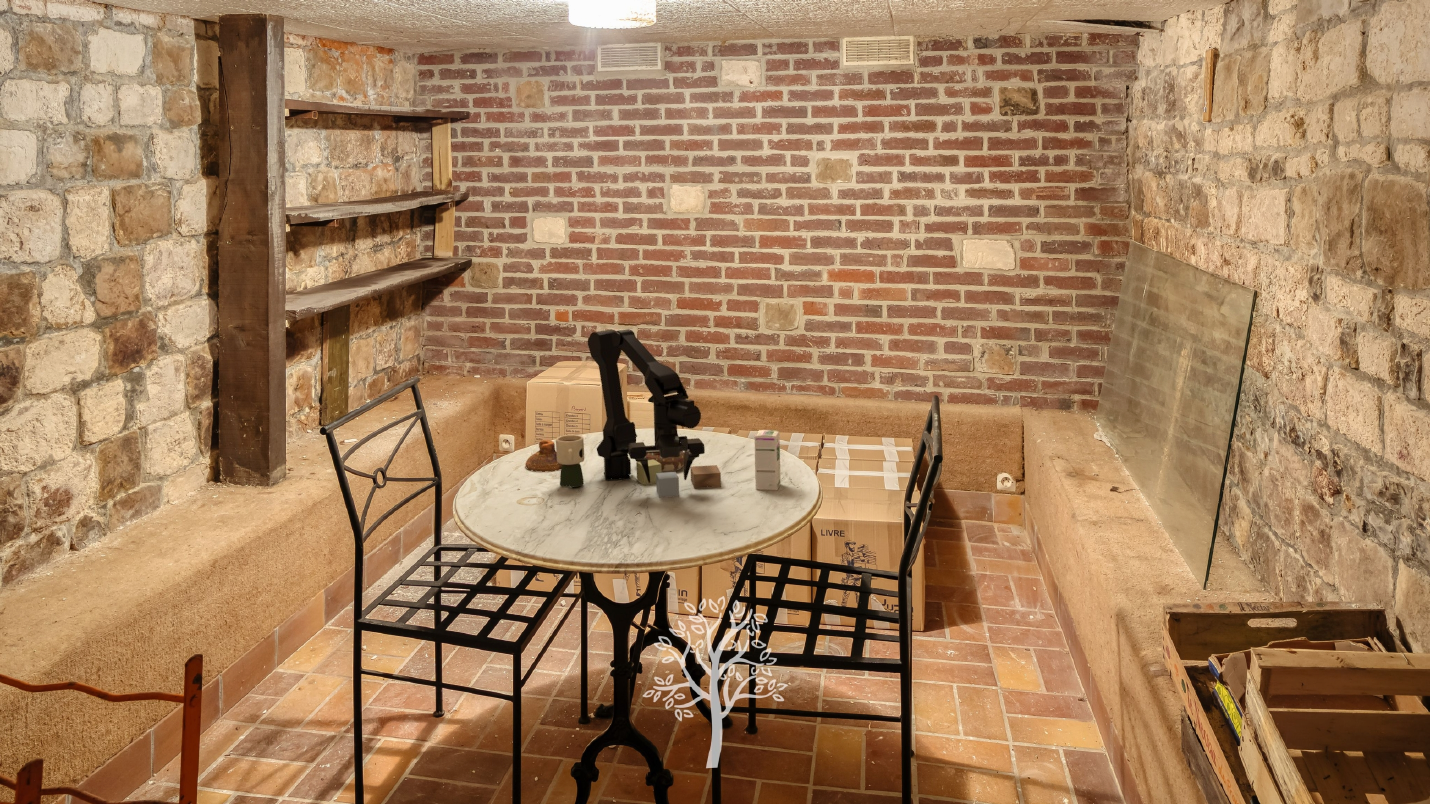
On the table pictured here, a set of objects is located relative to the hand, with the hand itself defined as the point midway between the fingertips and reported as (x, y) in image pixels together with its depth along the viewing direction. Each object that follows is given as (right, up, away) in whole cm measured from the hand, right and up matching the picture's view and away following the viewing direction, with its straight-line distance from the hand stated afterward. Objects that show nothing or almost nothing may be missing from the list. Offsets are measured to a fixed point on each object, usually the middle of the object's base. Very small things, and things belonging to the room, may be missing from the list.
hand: (667, 481), depth 255 cm
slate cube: (0, -3, +1) cm, 4 cm away
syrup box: (+26, -2, +5) cm, 26 cm away
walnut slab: (+10, -2, +9) cm, 13 cm away
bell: (-35, +2, +27) cm, 44 cm away
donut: (-3, +2, +24) cm, 24 cm away
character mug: (-25, -2, +8) cm, 27 cm away
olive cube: (-5, -1, +12) cm, 13 cm away
